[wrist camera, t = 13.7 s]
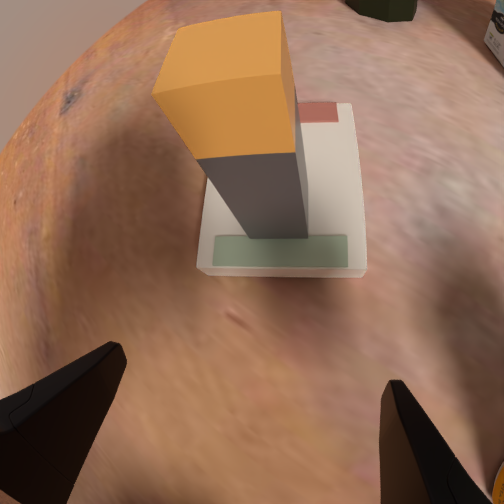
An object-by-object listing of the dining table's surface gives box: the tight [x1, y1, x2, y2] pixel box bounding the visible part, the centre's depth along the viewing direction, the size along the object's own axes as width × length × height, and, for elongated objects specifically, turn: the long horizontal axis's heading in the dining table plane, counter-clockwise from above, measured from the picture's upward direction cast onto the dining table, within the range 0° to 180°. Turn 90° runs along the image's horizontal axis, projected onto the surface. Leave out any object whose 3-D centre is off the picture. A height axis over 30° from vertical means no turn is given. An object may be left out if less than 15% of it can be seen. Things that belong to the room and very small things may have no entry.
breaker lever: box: [151, 11, 308, 239], centre depth 11 cm, size 3×3×10 cm
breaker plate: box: [196, 102, 367, 278], centre depth 18 cm, size 11×9×2 cm
